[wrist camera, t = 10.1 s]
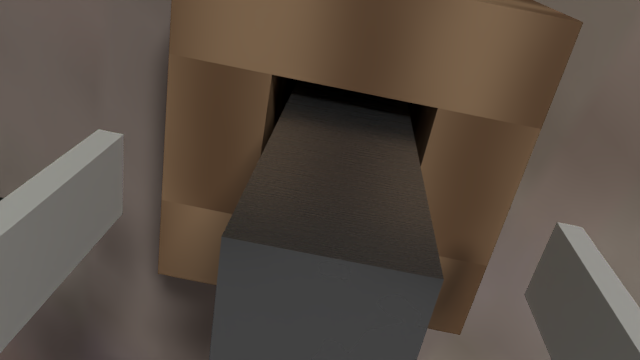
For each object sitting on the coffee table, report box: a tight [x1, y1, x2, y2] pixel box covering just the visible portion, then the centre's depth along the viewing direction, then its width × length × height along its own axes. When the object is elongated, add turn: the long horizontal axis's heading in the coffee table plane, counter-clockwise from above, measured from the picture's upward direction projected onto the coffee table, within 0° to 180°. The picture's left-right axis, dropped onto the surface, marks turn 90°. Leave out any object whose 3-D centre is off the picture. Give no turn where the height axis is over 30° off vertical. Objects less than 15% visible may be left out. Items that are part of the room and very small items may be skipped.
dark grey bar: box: [209, 80, 444, 360], centre depth 18 cm, size 4×4×15 cm
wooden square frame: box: [158, 0, 583, 335], centre depth 22 cm, size 13×13×6 cm
